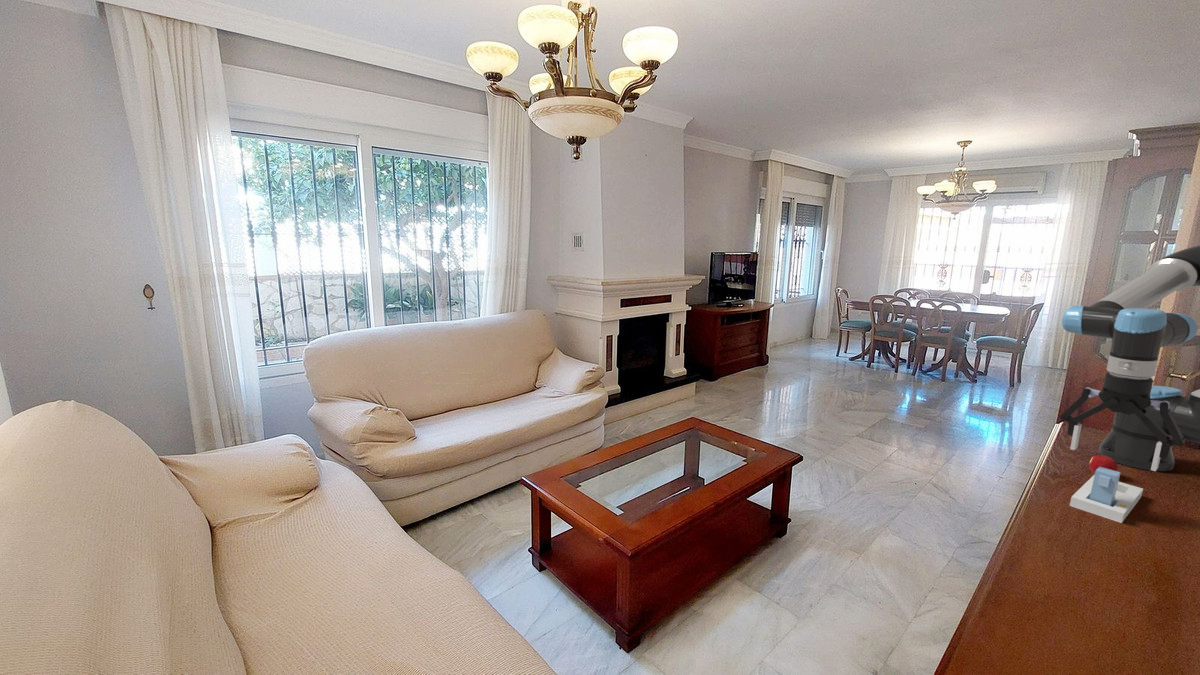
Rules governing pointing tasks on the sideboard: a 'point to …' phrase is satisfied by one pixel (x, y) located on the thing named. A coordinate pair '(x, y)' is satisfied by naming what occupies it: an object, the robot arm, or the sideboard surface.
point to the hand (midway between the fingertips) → (1112, 458)
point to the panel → (1119, 511)
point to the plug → (1105, 486)
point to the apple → (1102, 463)
